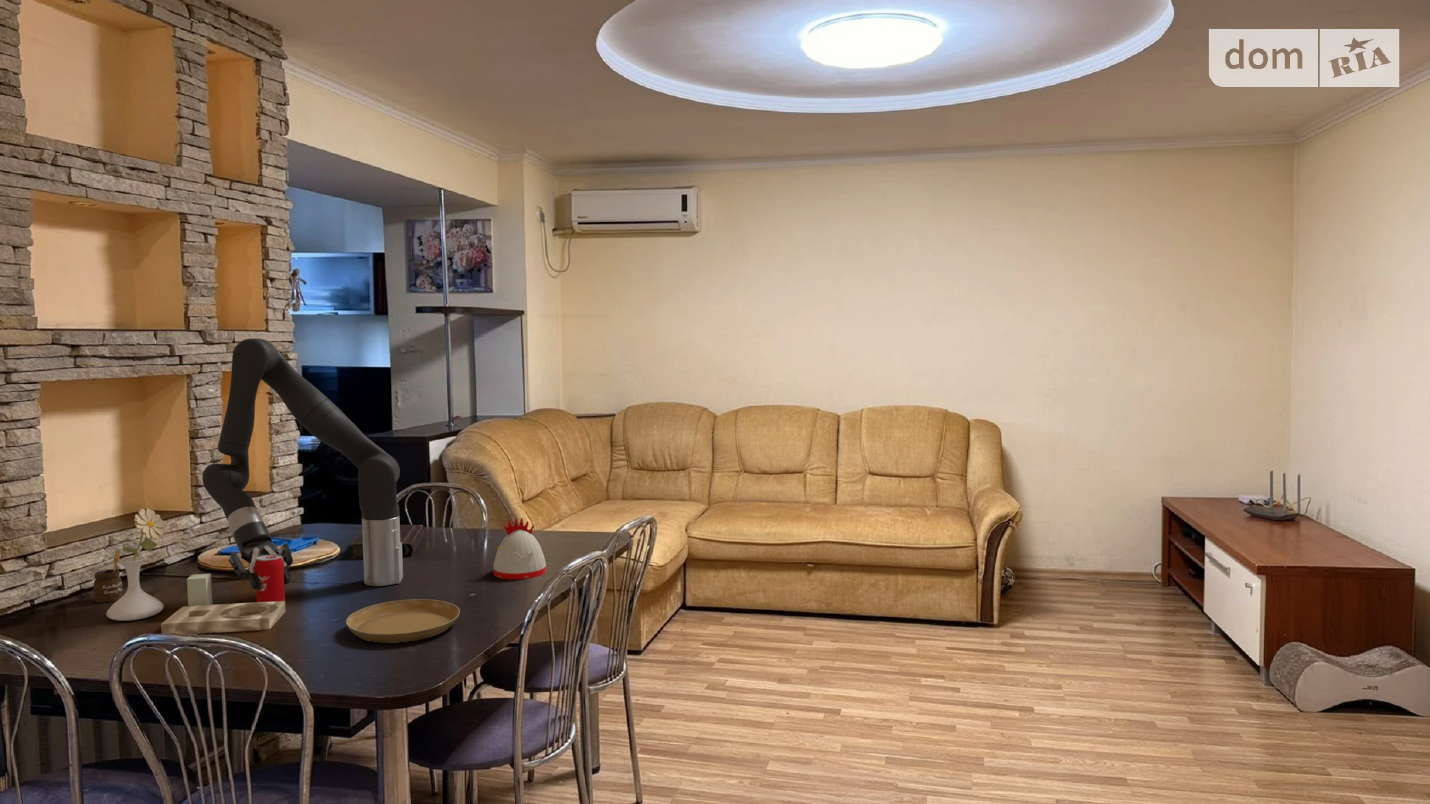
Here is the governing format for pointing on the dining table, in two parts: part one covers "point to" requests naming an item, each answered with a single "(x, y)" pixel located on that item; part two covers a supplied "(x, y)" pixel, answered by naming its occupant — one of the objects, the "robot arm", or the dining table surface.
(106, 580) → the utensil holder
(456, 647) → the dining table surface
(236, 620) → the socket board
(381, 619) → the plant saucer
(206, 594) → the square peg
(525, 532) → the kitchen timer
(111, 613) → the flower in vase
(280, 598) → the beverage can
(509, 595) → the dining table surface
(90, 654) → the dining table surface
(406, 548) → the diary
